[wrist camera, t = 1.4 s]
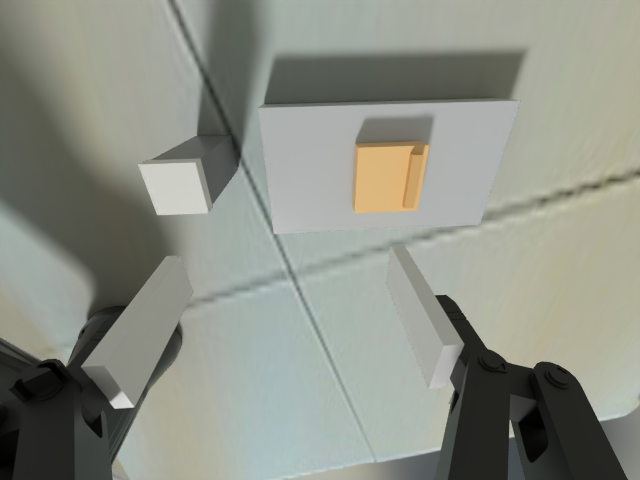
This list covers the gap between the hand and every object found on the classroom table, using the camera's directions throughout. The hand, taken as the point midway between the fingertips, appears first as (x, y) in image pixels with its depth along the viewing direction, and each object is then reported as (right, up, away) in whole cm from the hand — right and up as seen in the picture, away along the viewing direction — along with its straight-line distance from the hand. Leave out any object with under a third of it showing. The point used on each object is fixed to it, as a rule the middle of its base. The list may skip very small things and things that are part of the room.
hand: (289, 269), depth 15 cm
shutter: (+9, +9, +14) cm, 19 cm away
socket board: (+9, +11, +18) cm, 22 cm away
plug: (-10, +12, +16) cm, 22 cm away
